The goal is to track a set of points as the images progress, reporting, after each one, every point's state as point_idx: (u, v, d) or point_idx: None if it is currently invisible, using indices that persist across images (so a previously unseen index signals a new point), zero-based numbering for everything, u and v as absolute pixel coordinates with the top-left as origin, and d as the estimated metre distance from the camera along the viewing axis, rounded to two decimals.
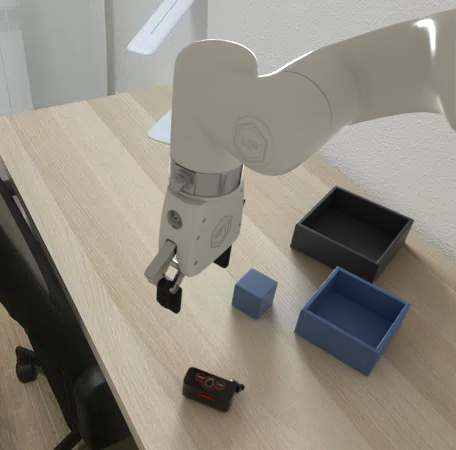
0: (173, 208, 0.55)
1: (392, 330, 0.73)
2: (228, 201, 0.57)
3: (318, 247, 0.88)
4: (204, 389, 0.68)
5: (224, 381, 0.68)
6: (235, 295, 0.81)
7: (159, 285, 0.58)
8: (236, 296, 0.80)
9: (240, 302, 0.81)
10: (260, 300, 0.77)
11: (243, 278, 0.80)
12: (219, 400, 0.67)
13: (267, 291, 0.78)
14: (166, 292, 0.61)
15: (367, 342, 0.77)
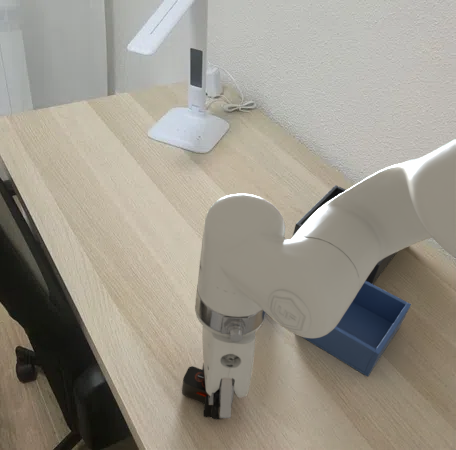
0: (228, 352, 0.57)
1: (392, 330, 0.73)
2: None
3: None
4: (204, 388, 0.68)
5: None
6: None
7: None
8: None
9: None
10: None
11: None
12: None
13: None
14: None
15: (367, 342, 0.77)
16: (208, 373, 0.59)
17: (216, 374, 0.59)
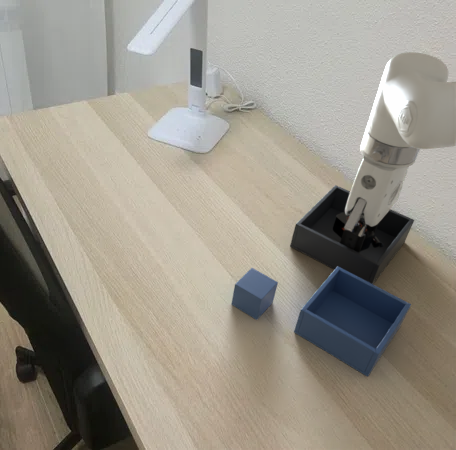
0: (369, 173, 0.76)
1: (392, 330, 0.73)
2: (404, 169, 0.78)
3: (318, 247, 0.88)
4: None
5: (367, 228, 0.86)
6: (235, 295, 0.81)
7: (355, 231, 0.81)
8: (236, 296, 0.80)
9: (240, 302, 0.81)
10: (260, 300, 0.77)
11: (243, 278, 0.80)
12: None
13: (267, 291, 0.78)
14: (354, 237, 0.84)
15: (367, 342, 0.77)
16: (350, 191, 0.79)
17: (355, 192, 0.78)
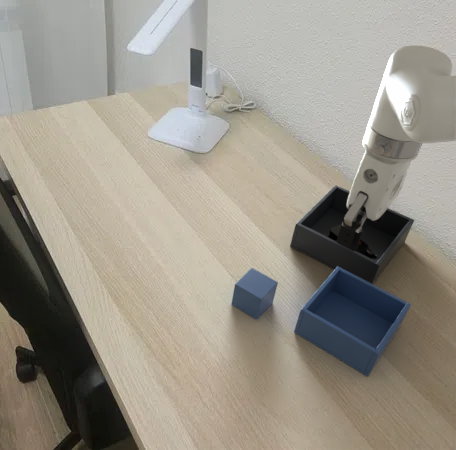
0: (371, 167, 0.75)
1: (392, 330, 0.73)
2: (406, 163, 0.77)
3: (318, 247, 0.88)
4: None
5: (361, 241, 0.88)
6: (235, 295, 0.81)
7: (353, 226, 0.79)
8: (236, 296, 0.80)
9: (240, 302, 0.81)
10: (260, 300, 0.77)
11: (243, 278, 0.80)
12: None
13: (267, 291, 0.78)
14: (351, 233, 0.82)
15: (367, 342, 0.77)
16: (352, 185, 0.79)
17: (357, 186, 0.78)
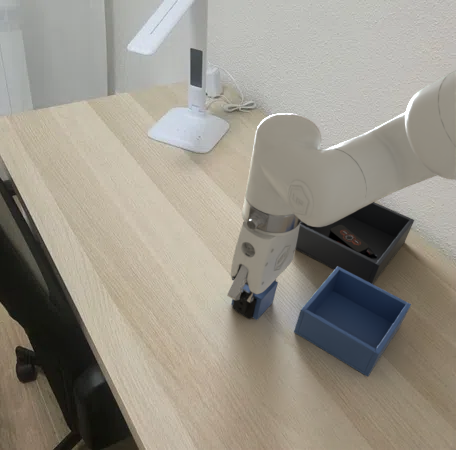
0: (247, 241, 0.70)
1: (392, 330, 0.73)
2: (289, 234, 0.72)
3: (318, 247, 0.88)
4: (343, 239, 0.88)
5: (361, 241, 0.88)
6: None
7: (241, 298, 0.75)
8: None
9: None
10: (260, 300, 0.77)
11: None
12: None
13: (267, 291, 0.78)
14: (244, 302, 0.78)
15: (367, 342, 0.77)
16: (233, 256, 0.73)
17: (237, 258, 0.72)
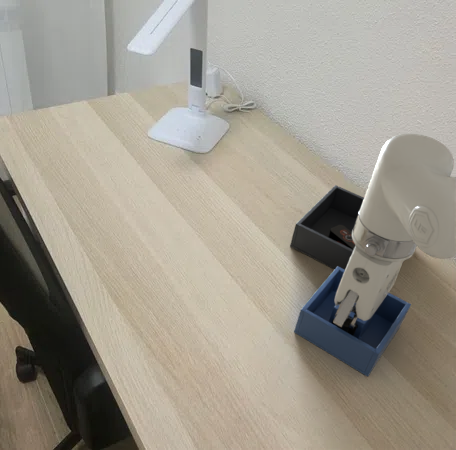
0: (361, 266, 0.66)
1: (392, 330, 0.73)
2: None
3: (318, 247, 0.88)
4: (343, 239, 0.88)
5: None
6: (332, 318, 0.77)
7: (345, 325, 0.71)
8: None
9: None
10: (362, 325, 0.74)
11: None
12: None
13: None
14: (344, 328, 0.74)
15: (367, 342, 0.77)
16: None
17: (345, 283, 0.69)
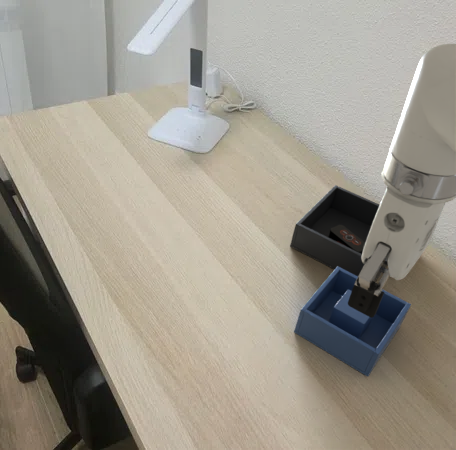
0: (395, 211, 0.55)
1: (392, 330, 0.73)
2: (442, 204, 0.57)
3: (318, 247, 0.88)
4: (343, 239, 0.88)
5: (361, 241, 0.88)
6: (332, 318, 0.77)
7: (370, 288, 0.58)
8: (333, 320, 0.77)
9: (337, 326, 0.77)
10: (362, 325, 0.74)
11: (341, 301, 0.77)
12: None
13: None
14: (367, 295, 0.61)
15: (367, 342, 0.77)
16: None
17: (375, 234, 0.58)
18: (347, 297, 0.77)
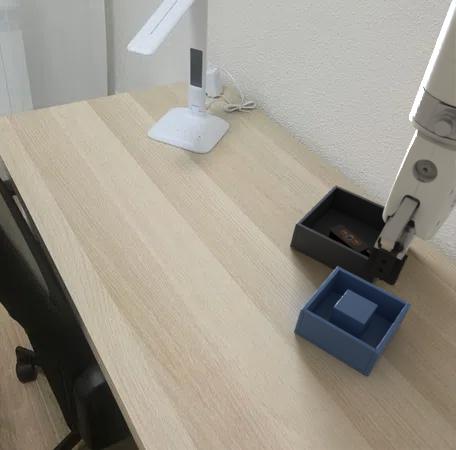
0: (426, 157, 0.47)
1: (392, 330, 0.73)
2: None
3: (318, 247, 0.88)
4: (343, 239, 0.88)
5: (361, 241, 0.88)
6: (332, 318, 0.77)
7: (394, 249, 0.50)
8: (333, 320, 0.77)
9: (337, 326, 0.77)
10: (362, 325, 0.74)
11: (341, 301, 0.77)
12: None
13: (368, 315, 0.75)
14: (389, 259, 0.53)
15: (367, 342, 0.77)
16: (393, 186, 0.51)
17: (401, 187, 0.50)
18: (347, 297, 0.77)
